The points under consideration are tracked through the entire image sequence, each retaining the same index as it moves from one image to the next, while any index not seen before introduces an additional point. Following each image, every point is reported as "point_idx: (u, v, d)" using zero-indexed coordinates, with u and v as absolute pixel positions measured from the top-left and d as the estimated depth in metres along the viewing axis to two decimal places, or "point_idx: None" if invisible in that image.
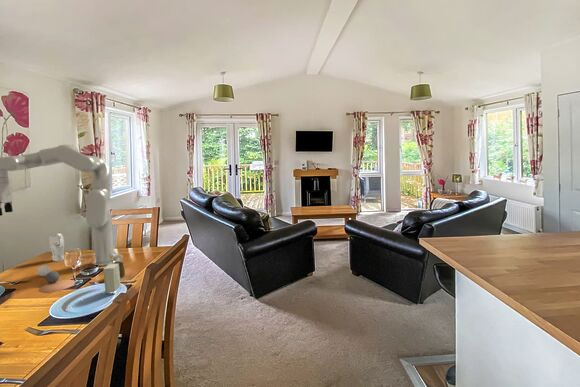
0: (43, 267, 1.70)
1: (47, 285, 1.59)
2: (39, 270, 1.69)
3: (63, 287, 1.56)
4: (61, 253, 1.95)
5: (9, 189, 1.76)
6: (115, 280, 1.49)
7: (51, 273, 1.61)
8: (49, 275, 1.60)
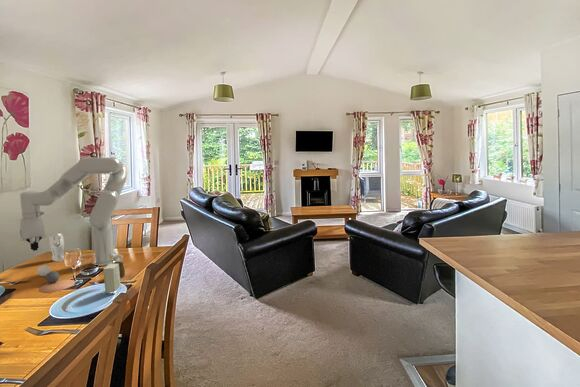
0: (43, 267, 1.70)
1: (47, 285, 1.59)
2: (39, 270, 1.69)
3: (63, 287, 1.56)
4: (61, 253, 1.95)
5: None
6: (115, 280, 1.49)
7: (51, 273, 1.61)
8: (49, 275, 1.60)
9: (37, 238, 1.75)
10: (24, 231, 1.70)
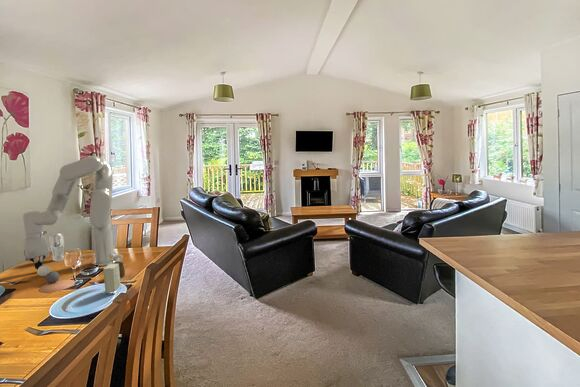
0: (43, 267, 1.70)
1: (47, 285, 1.59)
2: (39, 270, 1.69)
3: (63, 287, 1.56)
4: (61, 253, 1.95)
5: None
6: (115, 280, 1.49)
7: (51, 273, 1.61)
8: (49, 275, 1.60)
9: (41, 257, 1.76)
10: (28, 251, 1.71)
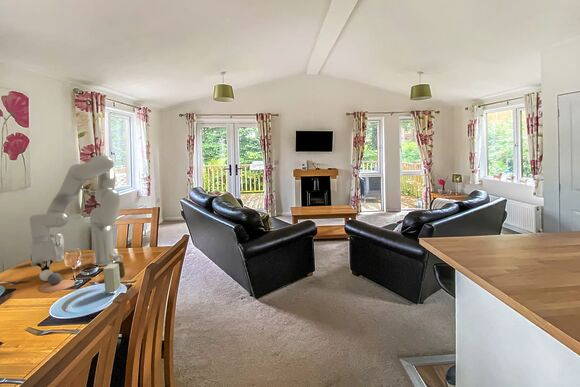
0: None
1: (47, 285, 1.59)
2: None
3: (63, 287, 1.56)
4: (61, 253, 1.95)
5: None
6: (115, 280, 1.49)
7: (55, 280, 1.58)
8: (52, 282, 1.58)
9: (48, 262, 1.69)
10: (34, 256, 1.64)
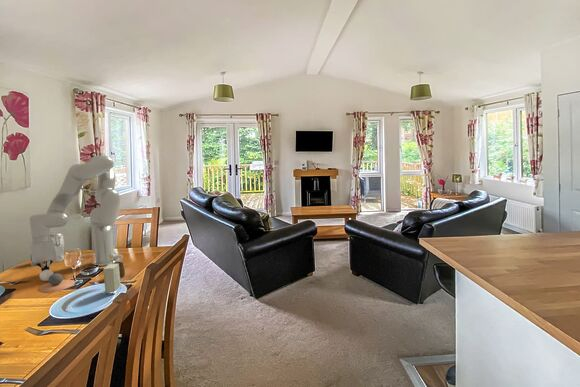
0: None
1: (47, 285, 1.59)
2: None
3: (63, 287, 1.56)
4: (61, 253, 1.95)
5: None
6: (115, 280, 1.49)
7: (56, 283, 1.58)
8: (53, 284, 1.57)
9: (48, 262, 1.69)
10: (34, 256, 1.64)
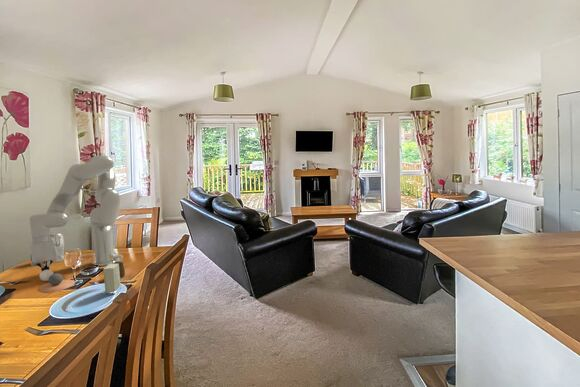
0: None
1: (47, 285, 1.59)
2: None
3: (63, 287, 1.56)
4: (61, 253, 1.95)
5: None
6: (115, 280, 1.49)
7: (56, 283, 1.58)
8: (53, 284, 1.57)
9: (48, 262, 1.69)
10: (34, 256, 1.64)
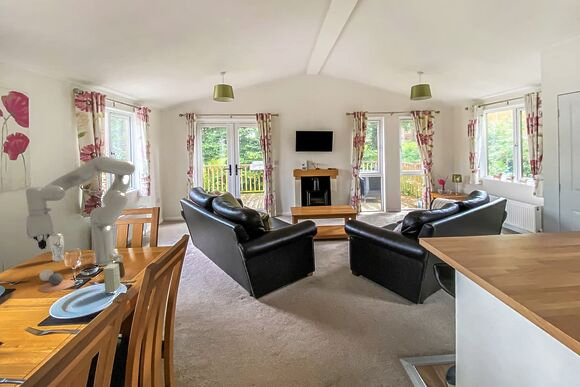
0: None
1: (47, 285, 1.59)
2: None
3: (63, 287, 1.56)
4: (61, 253, 1.95)
5: None
6: (115, 280, 1.49)
7: (56, 283, 1.58)
8: (53, 284, 1.57)
9: (45, 236, 1.67)
10: (31, 229, 1.62)
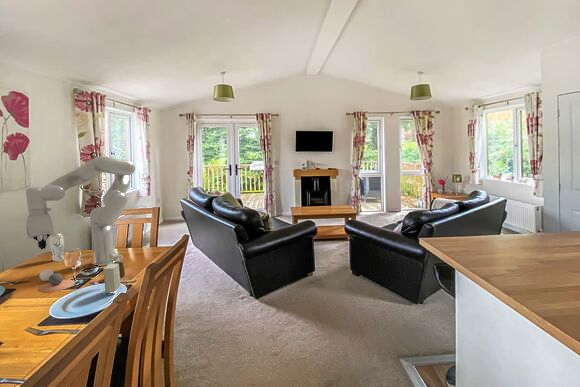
0: None
1: (47, 285, 1.59)
2: None
3: (63, 287, 1.56)
4: (61, 253, 1.95)
5: None
6: (115, 280, 1.49)
7: (56, 283, 1.58)
8: (53, 284, 1.57)
9: (45, 236, 1.67)
10: (31, 228, 1.62)
